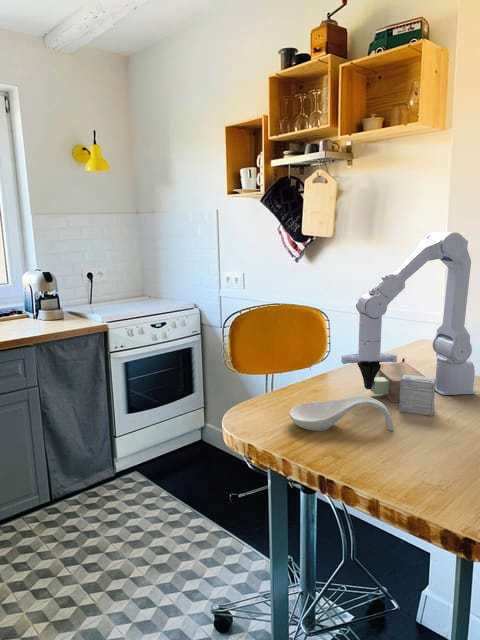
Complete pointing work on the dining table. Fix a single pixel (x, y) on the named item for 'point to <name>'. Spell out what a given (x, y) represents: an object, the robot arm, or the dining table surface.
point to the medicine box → (417, 395)
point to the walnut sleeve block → (396, 377)
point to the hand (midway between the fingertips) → (367, 388)
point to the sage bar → (380, 385)
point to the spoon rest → (332, 412)
